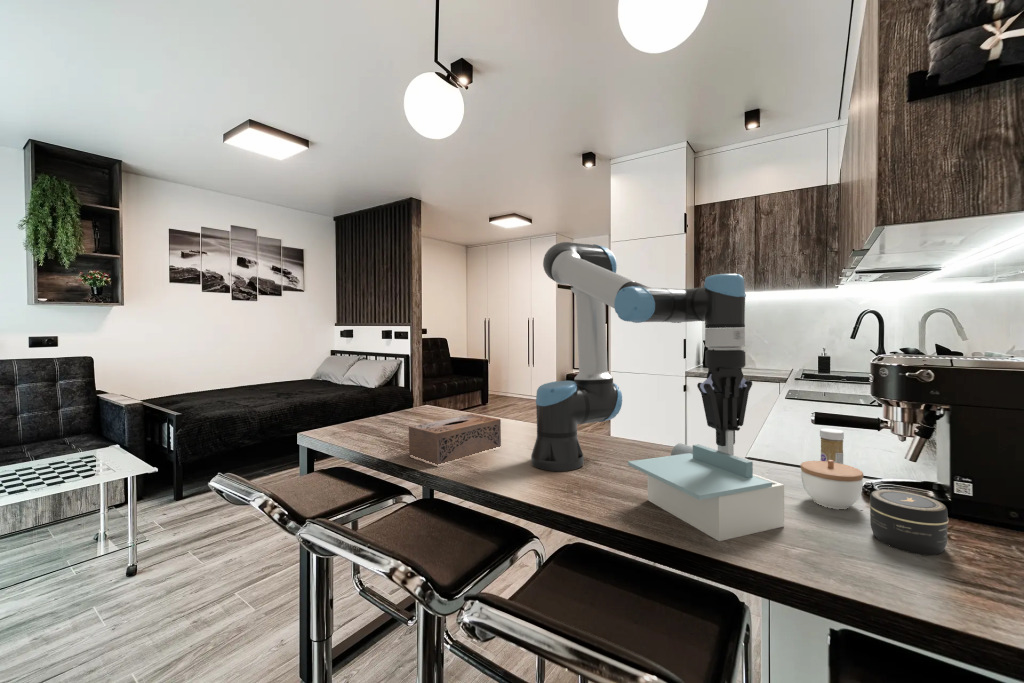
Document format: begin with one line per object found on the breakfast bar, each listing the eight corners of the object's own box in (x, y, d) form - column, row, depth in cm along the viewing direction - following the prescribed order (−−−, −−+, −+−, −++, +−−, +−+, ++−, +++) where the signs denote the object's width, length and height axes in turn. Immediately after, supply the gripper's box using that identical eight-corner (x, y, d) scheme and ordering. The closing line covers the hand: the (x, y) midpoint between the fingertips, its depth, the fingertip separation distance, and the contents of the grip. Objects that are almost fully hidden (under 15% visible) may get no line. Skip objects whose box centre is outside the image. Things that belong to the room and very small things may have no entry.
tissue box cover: (472, 442, 148) (471, 414, 148) (501, 449, 138) (500, 419, 138) (409, 458, 129) (408, 426, 129) (437, 468, 120) (436, 433, 119)
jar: (945, 540, 74) (945, 497, 74) (951, 564, 66) (951, 516, 66) (870, 524, 80) (870, 484, 80) (868, 544, 73) (868, 500, 73)
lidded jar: (821, 491, 97) (821, 451, 97) (875, 509, 87) (875, 464, 87) (789, 498, 93) (789, 456, 93) (842, 518, 83) (842, 471, 83)
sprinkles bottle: (815, 483, 102) (815, 428, 102) (830, 481, 103) (829, 427, 103) (834, 490, 98) (833, 432, 97) (849, 488, 99) (848, 431, 98)
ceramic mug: (699, 482, 104) (699, 451, 104) (669, 474, 110) (669, 445, 110) (719, 474, 111) (719, 445, 111) (689, 466, 117) (690, 439, 117)
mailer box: (647, 500, 94) (647, 464, 93) (704, 490, 99) (704, 456, 99) (719, 541, 75) (718, 496, 75) (784, 526, 80) (784, 484, 80)
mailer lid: (627, 465, 92) (627, 448, 92) (689, 456, 98) (689, 440, 98) (699, 500, 72) (699, 478, 72) (771, 486, 78) (771, 466, 78)
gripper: (715, 350, 82) (716, 469, 82) (763, 348, 86) (764, 461, 87) (687, 349, 89) (687, 459, 89) (733, 347, 93) (734, 452, 94)
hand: (725, 460), depth 88 cm, fingers closed
